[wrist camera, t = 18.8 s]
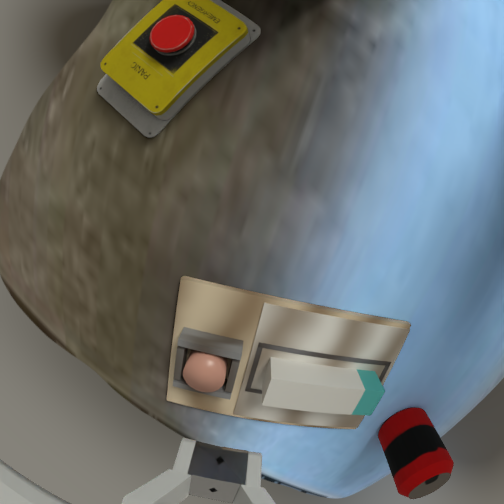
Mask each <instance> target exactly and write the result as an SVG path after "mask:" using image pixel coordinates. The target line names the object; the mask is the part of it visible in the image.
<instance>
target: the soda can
mask: <svg viewBox="0 0 504 504" xmlns="http://www.w3.org/2000/svg"><path fill="white" fill-rule="evenodd" d="M378 437H379V440H380V443H381V445H382V448H383V451H384V453H385V456H386V459H387V462H388V464H389V467H390V470H391V473H392V476H393V478H394V481H395V484H396V487H397V490H398V493H399V494H401V495H404V496H406V497H409V498H410V499H416V498H420V497H423V496H425V495H428V494H430V493H432V492H434V491H435V490H437V489H439V488H440V487H441V486H443V485H444V484H445V483H446V482H447V481H448V480H449V478H450V476H451V471H452V468H453V460H452V459H451V457H450V455H449V453H448V451H447V449H446V448H445V446H444V444H443V442H442V440H441V438H440V437H439V435H438V433H437V431H436V430H435V428H434V426H433V424H432V423H431V421H430V419H429V417H428V416H427V414H426V412H425V411H424V410H423V409H421V408H408V409H404V410H402V411H399V412H397V413H396V414H394V415H392V416H391V417H390V418H389V419H388V420H387V421H385V423H384V424H383V425H382V427H381V429H380V431H379V434H378Z"/></svg>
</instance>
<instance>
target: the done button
mask: <svg viewBox="0 0 504 504" xmlns="http://www.w3.org/2000/svg"><path fill="white" fill-rule="evenodd" d="M227 365H228V358H227V357H222V356H218V355H213V354H209V353H205V352H201V351H197V350H193V349H192V350H191V352H190V354H189V357H188V359H187V362H186V364H185V367H184V370H183V377H184V380H185V381H186V383H187V384H188V385H189V386H190V387H192V388H193V389H195V390H197V391H201V392H214V391H216V390H218V389H220V388H221V387H222V386H223V384H224V382H225V376H226V370H227Z"/></svg>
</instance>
